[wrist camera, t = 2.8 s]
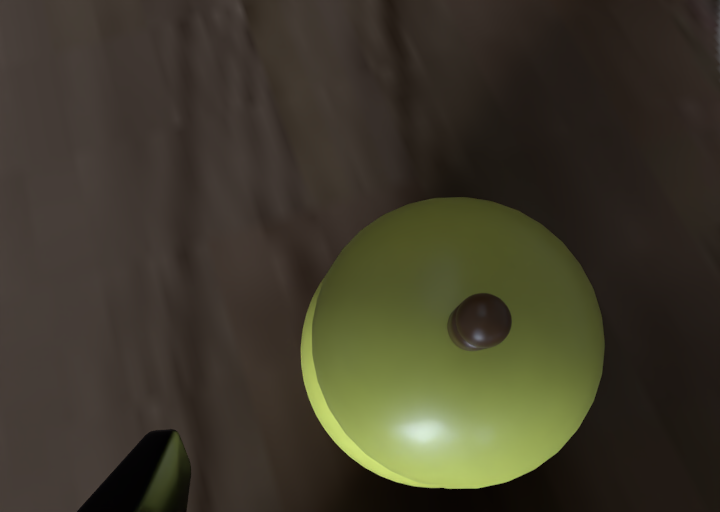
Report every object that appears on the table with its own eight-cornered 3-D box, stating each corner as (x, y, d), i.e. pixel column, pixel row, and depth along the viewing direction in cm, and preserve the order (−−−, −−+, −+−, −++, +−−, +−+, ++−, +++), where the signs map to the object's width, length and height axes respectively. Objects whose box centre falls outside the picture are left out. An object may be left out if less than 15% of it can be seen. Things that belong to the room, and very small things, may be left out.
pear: (568, 395, 18) (968, 448, 5) (383, 504, 17) (366, 820, 5) (457, 216, 19) (579, -63, 7) (282, 314, 19) (78, 206, 6)
